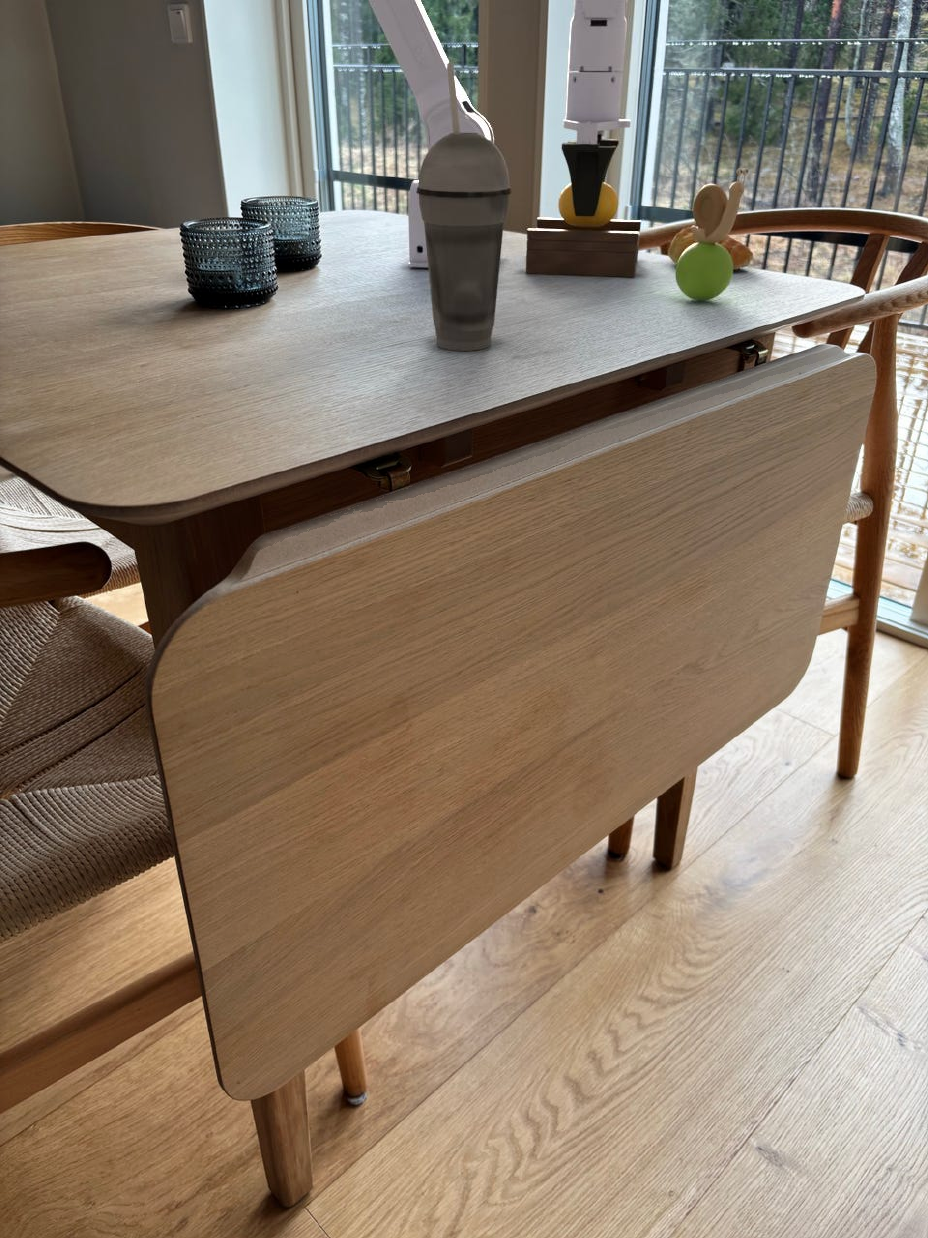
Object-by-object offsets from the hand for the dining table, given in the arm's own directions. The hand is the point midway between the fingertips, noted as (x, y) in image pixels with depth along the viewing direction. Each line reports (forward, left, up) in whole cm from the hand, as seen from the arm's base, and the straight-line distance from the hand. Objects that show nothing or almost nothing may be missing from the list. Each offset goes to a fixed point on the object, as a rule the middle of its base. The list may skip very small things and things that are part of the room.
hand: (586, 212), depth 105 cm
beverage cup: (-7, -37, -6) cm, 38 cm away
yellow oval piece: (0, 0, -1) cm, 1 cm away
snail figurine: (+13, -16, -6) cm, 21 cm away
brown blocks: (0, 0, -6) cm, 6 cm away
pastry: (+14, +4, -6) cm, 16 cm away
